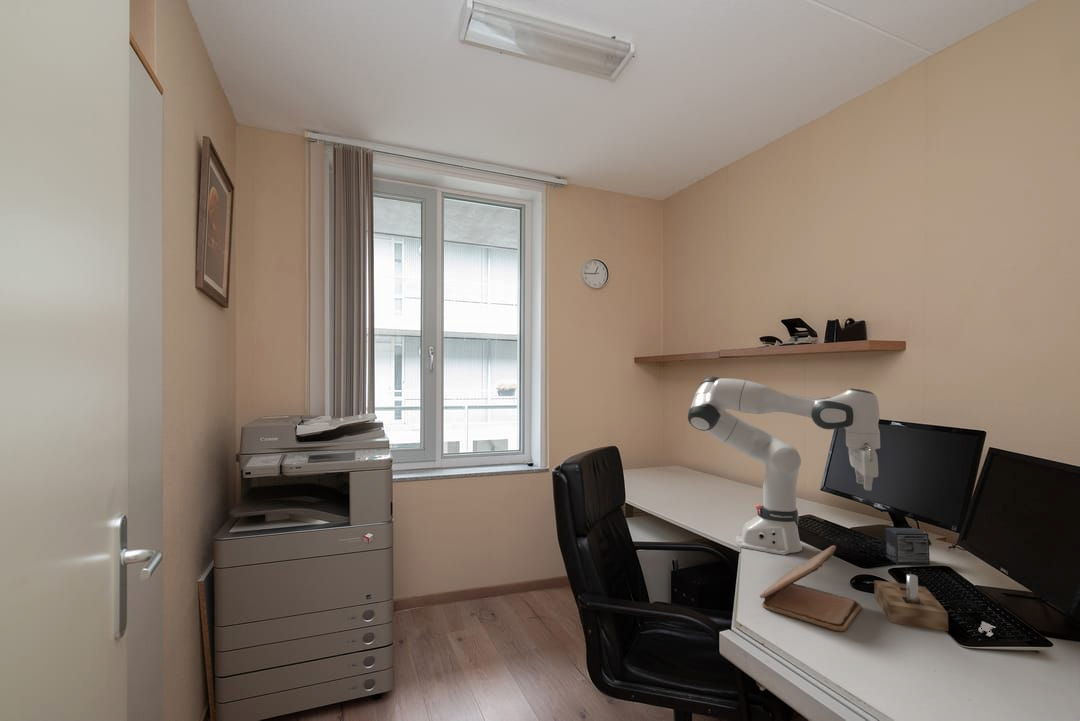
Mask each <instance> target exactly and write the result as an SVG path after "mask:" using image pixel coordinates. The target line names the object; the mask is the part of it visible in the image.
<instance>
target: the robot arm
mask: <svg viewBox="0 0 1080 721" xmlns="http://www.w3.org/2000/svg"><path fill="white" fill-rule="evenodd" d="M726 409H727V410H733V411H737V412H741V413H745V414H746V413H747V414H752V415H753V414H754V415H763V414H771V413H788V414H793V415H797V416H801V417H802V416H803V417H808V418H810V419H812V421H813V423H814V424H815V425H816V426H817V427H819V428H820V429H822V430H823V429H824V430H827V431H828V430H829V431H831V430H838V429H845V446H846V447H847V451H848V457H849V458H848V460H849V463H850V466H851V467H852V468H853V469H854V472H855V477H856V483H857V484H859V485H863V490H865V491H872V490H873V487H872V486H873V481H874V478H878V477H879V463H878V462H879V461H878V454H877V452H876V450H878V449H879V450H880V449H881V432H880V428H879V421H880V405H879V400H878V397H877V396H876V395H875V393H874V392H872V391H870V390H865V389H859V388H849V389H847V390H846V391H844V392H841V393H840V394H839V393H838V394H837V395H835V396H830V397H829V396H828V397H822V398H808V397H803V396H799V395H798V396H797V395H794V394H793V395H792V394H787V393H784V392H781V391H778V390H776V389H774V388H772V387H769V386H767V385H763V384H762V383H759V382H756V381H755V382H754V381H750V380H745V379H741V378H739V379H738V378H730V377H729V378H726V377H725V378H723V377H721V378H720V377H718V376H717V377H716V376H708V377H706V378H704V379H703V380H702V381H701V382H700V384H699V387H698V389H697V390H696V392H695V393H694V396H693V399H692V402H691V406H690V407H689V410H688V413H687V414H688V415H687V421H688V422H689V424H690V425H691V426H692V427H693V428H694V429H697V430H698V431H703V432H704V431H706V433H708V434H709V435H710V436H712V437H713V438H714V439H716V440H718V441H720V442H721V443H723V444H726V445H727V446H729V447H731V448H733V449H735V450H737V451H738V452H740V453H742V454H745V455H747V456H748V457H751V458H753V459H754V460H756V461H758V462H760V463H762V464H763V465H765V474H764V480H763V484H762V497H763V498H762V500H763V501H762V503H763V504H762V505H761V504H756V506H755V508H756V511H757V512H756V513H757V515H756V516H755V517H753V518H751V519H749V520H748V521H746V522H745V523H744V525H743V527H742V530H741V533H739V534H737V535H736V537H735V543H736V545H737V546H739V548H740V547H741V548H745V549H749V550H755V551H760V552H761V551H762V552H767V553H771V554H778V555H783V556H784V555H788V554H794V553H799V552H801V551H802V550H803V547H802V544H801V540H800V535H799V530H798V528H799V527H798V525H799V512H798V511H799V510H798V508H797V483H798V477H799V469H800V466H801V464H802V463H801V462H802V459H801V455H800V454H799V451H798V450H797V449H796V448H795V447H794V446H793V445H791V444H789V443H787V442H785V441H783V440H781V439H779V438H777V437H776V436H774V435H772V434H770V433H768V432H766V431H764V430H762V429H761V428H759V427H757V426H755V425H753V424H751V423H749V422H747V421H745V420H744V419H742V418H740V417H737V416H736V415H734V414H732V413H730V412H728V411H726Z"/></svg>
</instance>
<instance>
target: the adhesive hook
mask: <svg viewBox="0 0 1080 721" xmlns="http://www.w3.org/2000/svg"><path fill="white" fill-rule="evenodd" d="M981 628H982V629H981ZM993 628H994V629H995V628H996V626H994V625H992V624H990V623H988V622H985V621H981V624H980V627H978V632H979V633H981V634H983V633H984V632H986V636H988V637H992V636H993V635H994V633H993V632H992V630H993ZM989 631H990V632H989Z"/></svg>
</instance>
